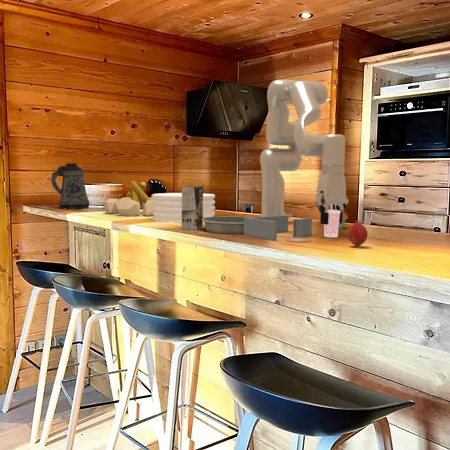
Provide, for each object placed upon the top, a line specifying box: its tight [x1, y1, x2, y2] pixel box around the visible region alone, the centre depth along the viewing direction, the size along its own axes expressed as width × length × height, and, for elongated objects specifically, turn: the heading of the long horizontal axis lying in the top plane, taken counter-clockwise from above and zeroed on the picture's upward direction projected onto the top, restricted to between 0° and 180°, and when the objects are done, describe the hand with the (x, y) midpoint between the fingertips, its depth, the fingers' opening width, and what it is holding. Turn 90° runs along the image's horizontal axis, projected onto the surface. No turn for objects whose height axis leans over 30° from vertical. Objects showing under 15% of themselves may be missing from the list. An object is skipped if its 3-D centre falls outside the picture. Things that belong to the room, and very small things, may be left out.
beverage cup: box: [323, 204, 341, 238], centre depth 178 cm, size 6×6×14 cm
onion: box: [347, 220, 368, 248], centre depth 155 cm, size 6×6×8 cm
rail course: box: [243, 215, 313, 241], centre depth 179 cm, size 20×16×6 cm
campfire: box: [102, 180, 154, 217], centre depth 260 cm, size 35×34×17 cm
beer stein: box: [50, 162, 90, 210], centre depth 287 cm, size 16×19×25 cm
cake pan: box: [202, 215, 250, 235], centre depth 194 cm, size 25×25×4 cm
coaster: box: [285, 236, 312, 243], centre depth 167 cm, size 8×8×1 cm
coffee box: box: [181, 186, 204, 231], centre depth 197 cm, size 9×6×16 cm
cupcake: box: [338, 211, 349, 230], centre depth 204 cm, size 9×8×12 cm
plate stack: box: [151, 192, 216, 224], centre depth 231 cm, size 28×28×12 cm
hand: (331, 223), depth 178 cm, fingers closed on beverage cup, 6 cm apart
